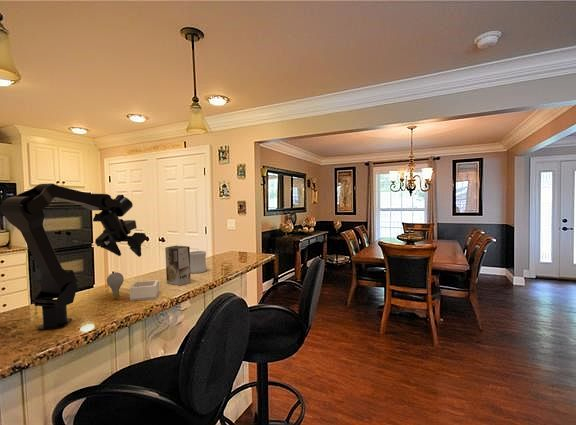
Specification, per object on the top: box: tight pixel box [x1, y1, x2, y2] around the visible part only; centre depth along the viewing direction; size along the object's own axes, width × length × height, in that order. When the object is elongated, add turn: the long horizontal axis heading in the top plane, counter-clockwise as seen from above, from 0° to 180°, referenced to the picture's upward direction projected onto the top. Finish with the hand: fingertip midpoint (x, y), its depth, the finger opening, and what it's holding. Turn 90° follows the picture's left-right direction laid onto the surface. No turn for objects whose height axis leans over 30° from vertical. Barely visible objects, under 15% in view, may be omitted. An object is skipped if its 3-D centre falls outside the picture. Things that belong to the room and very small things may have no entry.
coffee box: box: [164, 245, 192, 286], centre depth 133 cm, size 9×6×16 cm
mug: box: [190, 250, 208, 274], centre depth 153 cm, size 12×9×10 cm
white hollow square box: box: [129, 279, 160, 302], centre depth 115 cm, size 9×9×5 cm
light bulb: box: [106, 271, 125, 300], centre depth 112 cm, size 6×6×10 cm
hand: (130, 255), depth 119 cm, fingers open, 9 cm apart
